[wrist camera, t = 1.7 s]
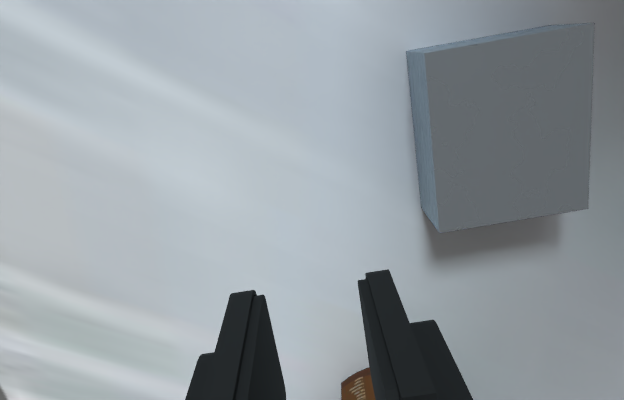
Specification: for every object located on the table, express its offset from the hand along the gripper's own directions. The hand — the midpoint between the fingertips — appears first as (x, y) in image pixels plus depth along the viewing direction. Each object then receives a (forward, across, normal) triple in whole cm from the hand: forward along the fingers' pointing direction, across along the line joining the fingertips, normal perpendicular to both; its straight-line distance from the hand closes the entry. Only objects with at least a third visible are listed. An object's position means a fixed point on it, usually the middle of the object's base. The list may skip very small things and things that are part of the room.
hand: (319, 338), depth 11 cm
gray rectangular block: (+19, -11, 0) cm, 22 cm away
